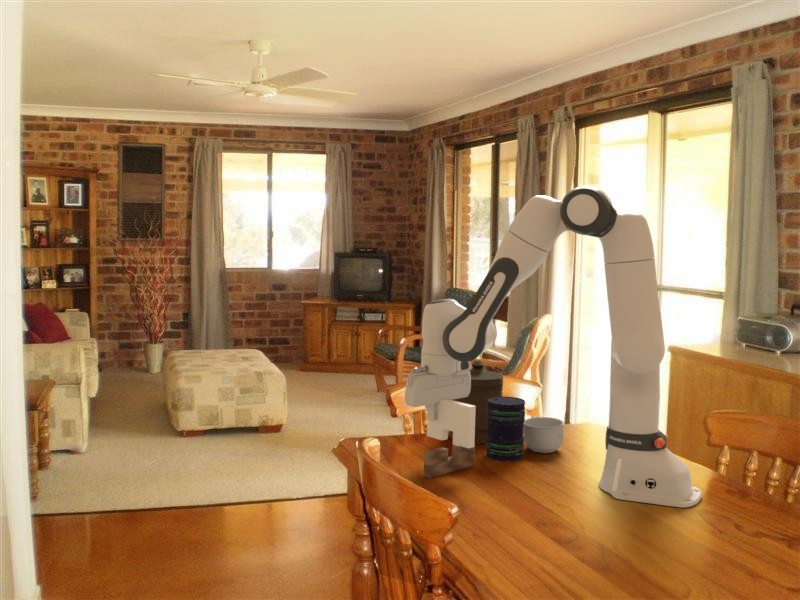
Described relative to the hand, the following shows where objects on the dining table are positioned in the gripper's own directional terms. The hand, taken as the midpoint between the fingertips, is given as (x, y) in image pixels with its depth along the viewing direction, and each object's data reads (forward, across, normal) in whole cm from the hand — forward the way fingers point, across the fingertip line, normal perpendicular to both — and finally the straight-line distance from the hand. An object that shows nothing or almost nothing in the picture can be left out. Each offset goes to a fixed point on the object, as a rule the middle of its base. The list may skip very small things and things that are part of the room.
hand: (437, 419), depth 203 cm
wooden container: (+12, +29, +12) cm, 34 cm away
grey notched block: (+12, 0, -4) cm, 13 cm away
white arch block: (+5, 0, -4) cm, 6 cm away
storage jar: (+12, +20, -5) cm, 24 cm away
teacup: (+12, +34, -7) cm, 37 cm away
